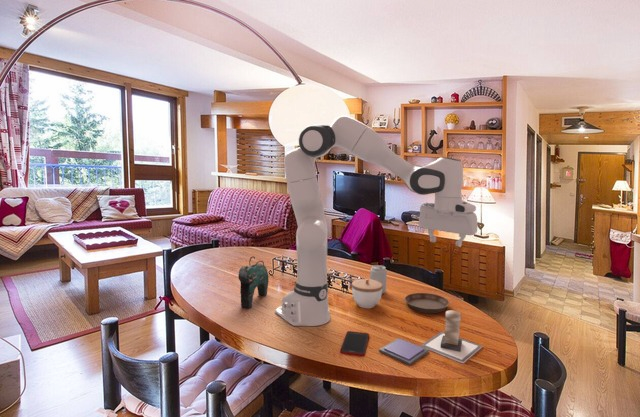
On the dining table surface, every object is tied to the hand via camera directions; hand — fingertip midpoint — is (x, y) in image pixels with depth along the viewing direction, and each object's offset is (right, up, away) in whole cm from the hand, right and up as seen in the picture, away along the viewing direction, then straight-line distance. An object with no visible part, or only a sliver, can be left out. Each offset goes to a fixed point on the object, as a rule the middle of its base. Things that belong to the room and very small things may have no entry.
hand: (445, 244), depth 130 cm
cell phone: (-32, -33, -8) cm, 46 cm away
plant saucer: (0, -29, +24) cm, 38 cm away
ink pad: (-17, -33, -13) cm, 39 cm away
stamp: (-1, -32, -9) cm, 33 cm away
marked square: (-1, -33, -9) cm, 34 cm away
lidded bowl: (-24, -28, +25) cm, 45 cm away
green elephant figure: (-72, -27, +27) cm, 81 cm away
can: (-17, -26, +40) cm, 51 cm away
